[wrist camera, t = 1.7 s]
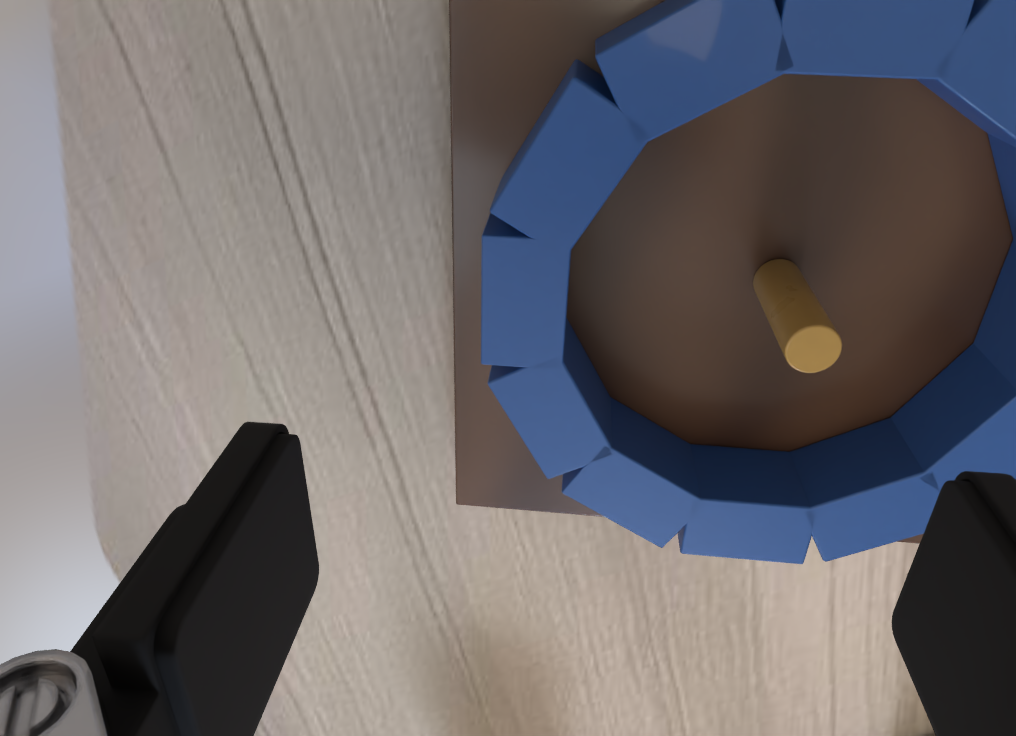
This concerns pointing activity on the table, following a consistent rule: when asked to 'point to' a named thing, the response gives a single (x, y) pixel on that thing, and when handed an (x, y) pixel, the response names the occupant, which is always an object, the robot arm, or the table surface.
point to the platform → (727, 249)
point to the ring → (592, 178)
